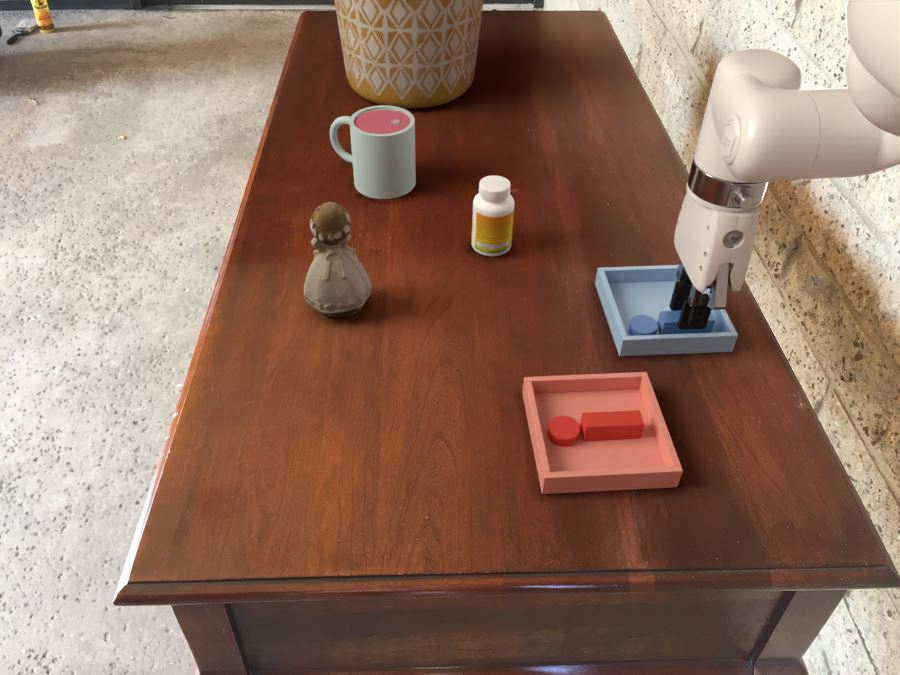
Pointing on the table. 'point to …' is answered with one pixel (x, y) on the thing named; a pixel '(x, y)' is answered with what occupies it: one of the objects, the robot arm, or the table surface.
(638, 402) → the red tray
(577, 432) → the red spoon
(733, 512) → the table surface
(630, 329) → the blue spoon
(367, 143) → the mug
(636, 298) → the blue tray
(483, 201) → the supplement bottle
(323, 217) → the figurine
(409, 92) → the planter
